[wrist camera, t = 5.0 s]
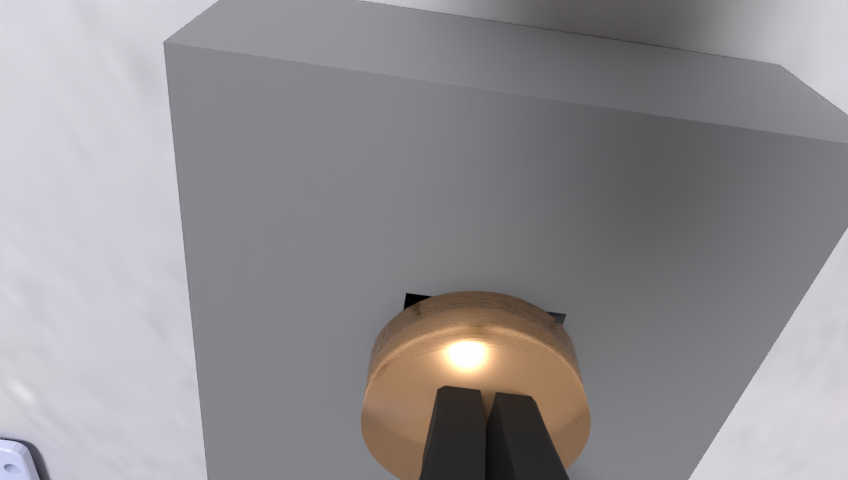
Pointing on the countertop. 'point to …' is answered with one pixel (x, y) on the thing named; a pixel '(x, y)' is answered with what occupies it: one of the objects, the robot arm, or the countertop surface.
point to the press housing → (485, 218)
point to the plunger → (469, 372)
